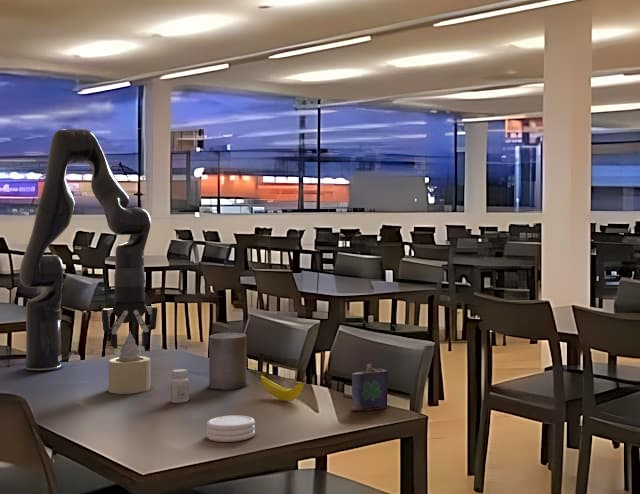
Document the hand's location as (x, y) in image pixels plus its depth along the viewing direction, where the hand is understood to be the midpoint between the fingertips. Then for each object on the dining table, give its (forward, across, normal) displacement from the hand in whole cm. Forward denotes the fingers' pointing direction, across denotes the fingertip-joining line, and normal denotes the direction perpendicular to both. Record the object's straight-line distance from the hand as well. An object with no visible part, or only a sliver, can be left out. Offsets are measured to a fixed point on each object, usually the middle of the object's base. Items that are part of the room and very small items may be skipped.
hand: (129, 347), depth 251 cm
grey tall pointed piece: (+11, 0, 0) cm, 11 cm away
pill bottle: (+11, -9, +20) cm, 25 cm away
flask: (+11, -48, +49) cm, 69 cm away
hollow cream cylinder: (+11, 0, 0) cm, 11 cm away
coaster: (+11, -12, +60) cm, 62 cm away
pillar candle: (+11, -24, +7) cm, 27 cm away
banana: (+11, -32, +30) cm, 45 cm away
